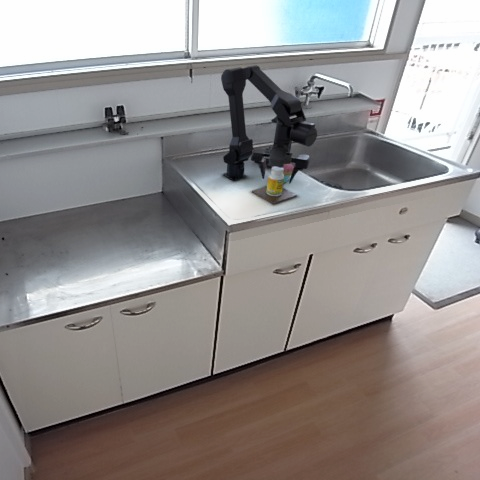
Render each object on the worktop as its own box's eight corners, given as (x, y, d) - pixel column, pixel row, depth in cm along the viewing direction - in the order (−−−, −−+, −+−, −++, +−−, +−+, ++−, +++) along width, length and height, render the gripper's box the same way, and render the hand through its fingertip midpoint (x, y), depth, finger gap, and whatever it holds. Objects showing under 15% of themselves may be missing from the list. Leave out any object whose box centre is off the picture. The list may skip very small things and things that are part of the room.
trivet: (251, 192, 142) (252, 190, 142) (274, 185, 147) (274, 183, 146) (273, 204, 134) (273, 203, 134) (296, 196, 139) (296, 195, 139)
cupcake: (281, 186, 146) (286, 155, 139) (264, 178, 152) (269, 148, 145) (297, 180, 149) (303, 150, 143) (280, 173, 155) (285, 144, 149)
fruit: (265, 135, 165) (268, 147, 153) (284, 142, 166) (288, 154, 153) (256, 153, 170) (258, 167, 158) (274, 160, 170) (277, 174, 158)
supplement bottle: (271, 188, 143) (275, 163, 138) (284, 193, 140) (288, 168, 134) (263, 193, 140) (266, 168, 135) (276, 198, 137) (280, 172, 131)
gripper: (249, 142, 126) (244, 185, 135) (309, 150, 119) (300, 195, 128) (257, 131, 135) (252, 173, 143) (314, 138, 128) (305, 182, 136)
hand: (276, 181), depth 138 cm, fingers open, 9 cm apart
